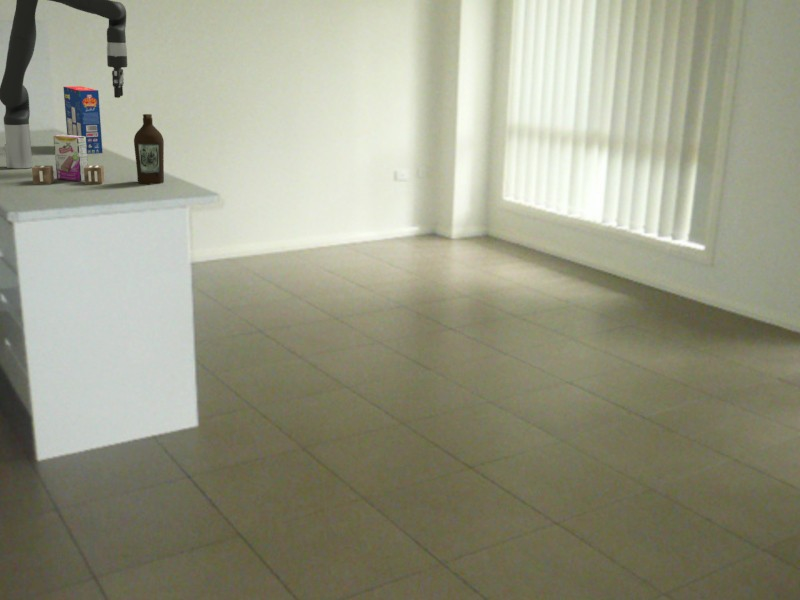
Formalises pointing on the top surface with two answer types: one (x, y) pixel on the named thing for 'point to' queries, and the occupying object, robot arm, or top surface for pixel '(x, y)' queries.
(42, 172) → the walnut block one
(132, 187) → the top surface
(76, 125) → the pasta box
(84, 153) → the candy bar box
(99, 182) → the walnut block two
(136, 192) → the top surface
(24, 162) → the robot arm
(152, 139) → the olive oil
